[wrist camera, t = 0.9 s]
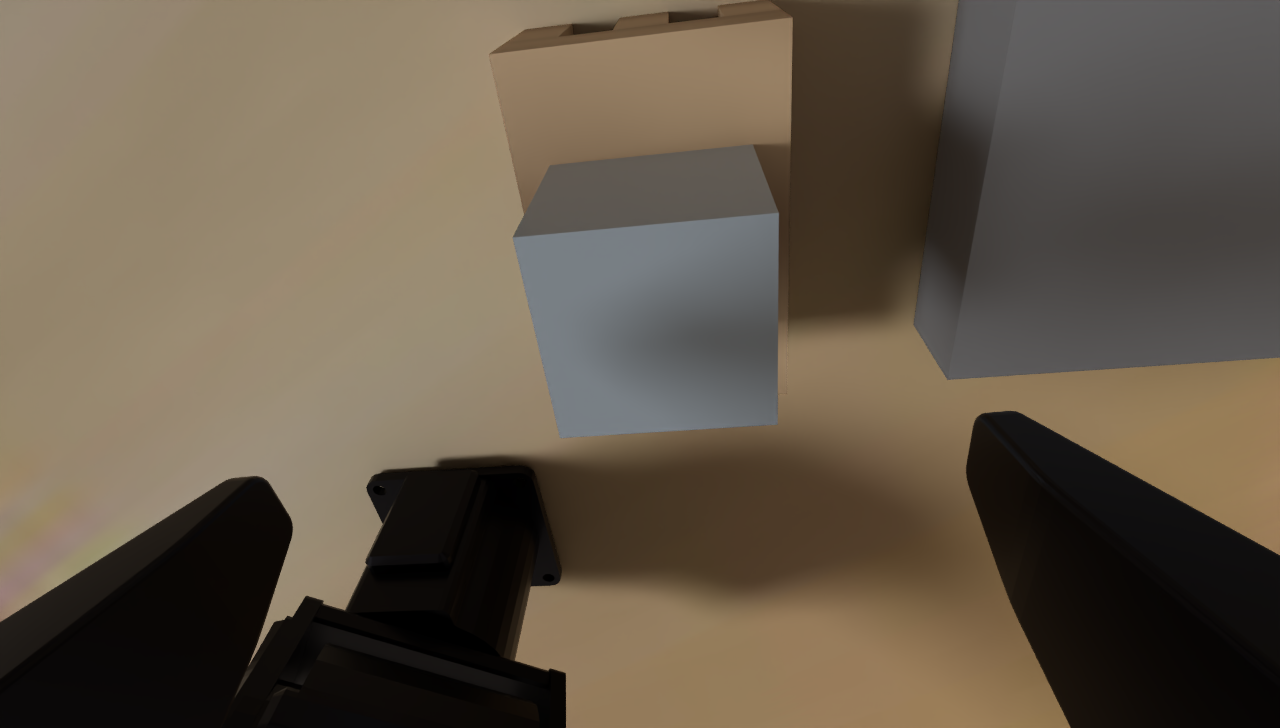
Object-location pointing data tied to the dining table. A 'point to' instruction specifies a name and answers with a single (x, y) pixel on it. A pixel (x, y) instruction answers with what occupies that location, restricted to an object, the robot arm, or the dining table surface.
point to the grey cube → (655, 291)
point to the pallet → (655, 100)
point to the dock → (1105, 188)
